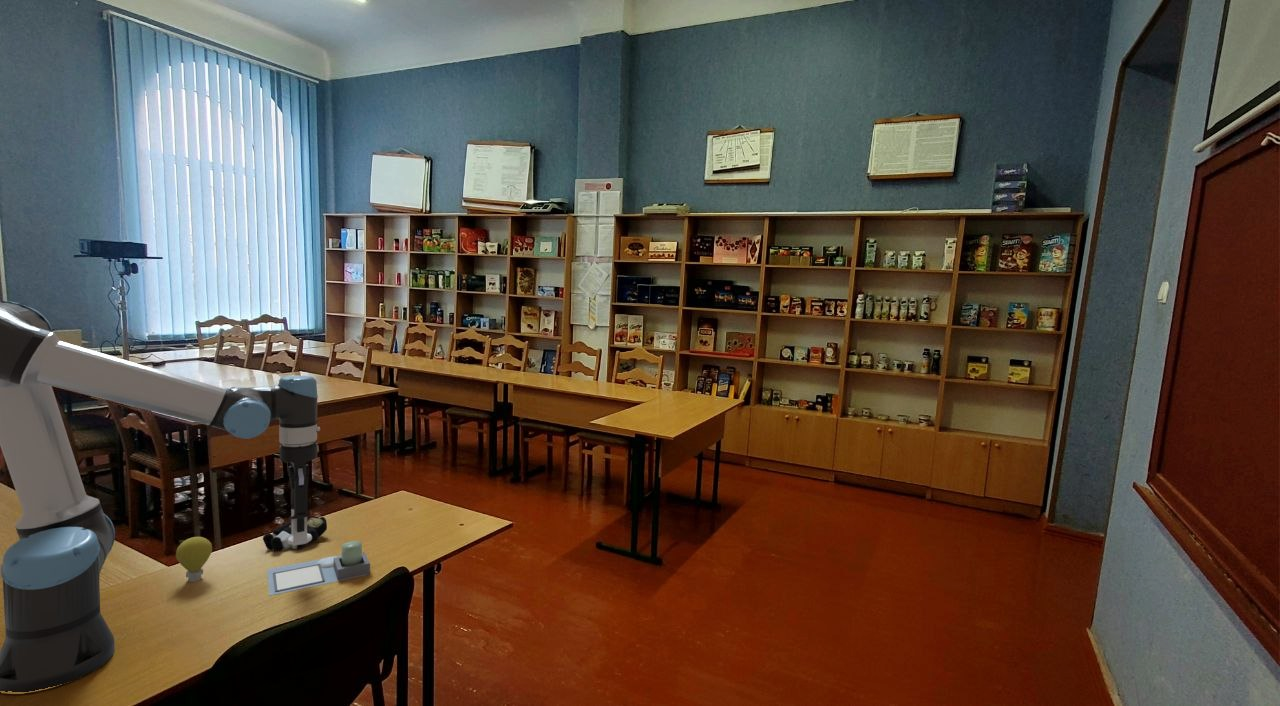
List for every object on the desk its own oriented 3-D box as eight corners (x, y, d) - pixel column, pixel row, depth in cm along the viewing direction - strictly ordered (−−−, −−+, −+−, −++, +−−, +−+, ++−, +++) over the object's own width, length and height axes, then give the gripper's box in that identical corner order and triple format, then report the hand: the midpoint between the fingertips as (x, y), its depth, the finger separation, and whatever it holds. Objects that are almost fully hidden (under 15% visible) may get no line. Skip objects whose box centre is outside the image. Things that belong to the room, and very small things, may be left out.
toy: (252, 532, 149) (307, 501, 161) (261, 556, 151) (314, 523, 163) (280, 544, 143) (334, 511, 155) (288, 569, 145) (341, 534, 158)
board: (269, 599, 125) (269, 584, 125) (267, 572, 137) (267, 559, 136) (370, 577, 137) (370, 564, 137) (360, 554, 149) (360, 542, 148)
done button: (343, 568, 135) (343, 550, 135) (340, 560, 139) (340, 543, 138) (363, 564, 138) (363, 546, 137) (360, 557, 141) (360, 539, 141)
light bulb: (215, 579, 132) (215, 538, 131) (179, 589, 127) (178, 546, 126) (209, 569, 137) (208, 529, 136) (173, 578, 132) (173, 537, 131)
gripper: (321, 450, 126) (321, 550, 128) (313, 432, 140) (313, 523, 142) (281, 454, 121) (282, 558, 123) (277, 435, 136) (278, 528, 138)
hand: (299, 539), depth 133 cm, fingers closed on chess piece, 5 cm apart
